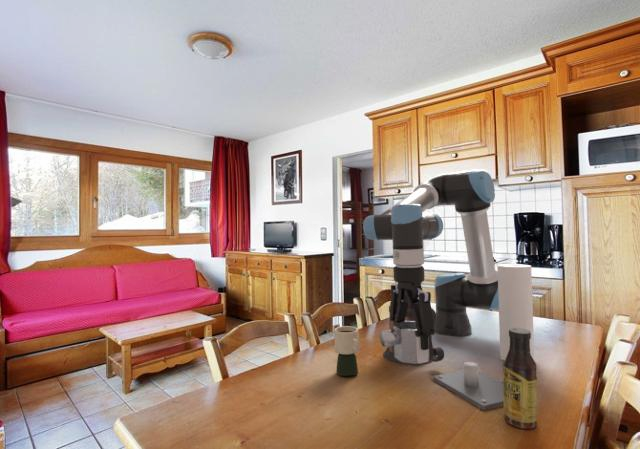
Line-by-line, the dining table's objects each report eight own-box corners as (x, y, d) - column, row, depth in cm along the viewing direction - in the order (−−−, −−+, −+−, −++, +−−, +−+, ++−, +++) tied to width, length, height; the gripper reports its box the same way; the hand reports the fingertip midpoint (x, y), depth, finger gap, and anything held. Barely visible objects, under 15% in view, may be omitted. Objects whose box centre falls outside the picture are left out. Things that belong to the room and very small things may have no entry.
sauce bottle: (497, 416, 77) (494, 326, 78) (524, 414, 78) (521, 324, 78) (516, 433, 71) (513, 334, 71) (545, 430, 71) (542, 333, 72)
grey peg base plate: (432, 379, 97) (432, 357, 97) (472, 371, 101) (471, 350, 102) (484, 410, 80) (483, 383, 80) (528, 398, 85) (527, 373, 85)
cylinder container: (539, 365, 105) (536, 265, 105) (505, 363, 107) (502, 265, 107) (527, 354, 114) (524, 262, 115) (496, 353, 116) (493, 262, 116)
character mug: (368, 377, 99) (367, 331, 99) (347, 383, 95) (346, 335, 95) (346, 365, 108) (345, 323, 108) (327, 370, 105) (326, 326, 105)
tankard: (372, 352, 119) (371, 293, 120) (411, 344, 127) (410, 289, 127) (419, 377, 98) (417, 306, 99) (463, 366, 105) (461, 300, 106)
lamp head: (415, 349, 93) (414, 319, 93) (435, 359, 85) (434, 327, 85) (376, 357, 89) (374, 325, 89) (393, 368, 81) (391, 334, 81)
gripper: (374, 263, 96) (377, 345, 96) (421, 271, 77) (425, 374, 77) (398, 261, 99) (401, 341, 99) (449, 268, 79) (453, 368, 79)
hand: (411, 355), depth 88 cm, fingers closed on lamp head, 8 cm apart
